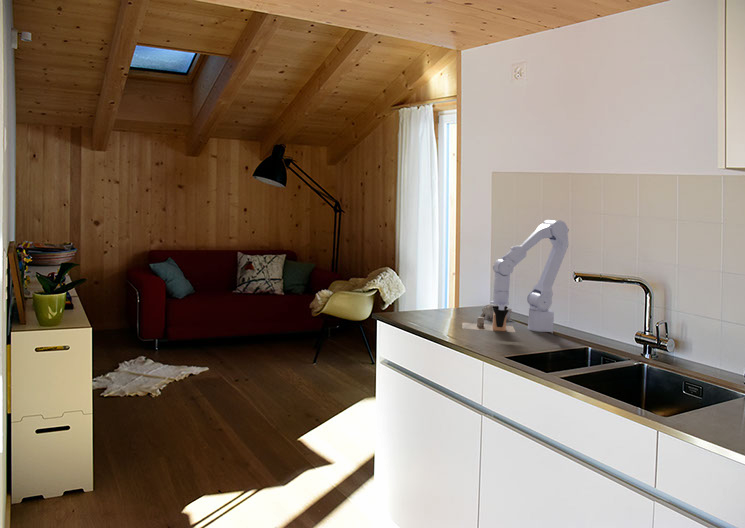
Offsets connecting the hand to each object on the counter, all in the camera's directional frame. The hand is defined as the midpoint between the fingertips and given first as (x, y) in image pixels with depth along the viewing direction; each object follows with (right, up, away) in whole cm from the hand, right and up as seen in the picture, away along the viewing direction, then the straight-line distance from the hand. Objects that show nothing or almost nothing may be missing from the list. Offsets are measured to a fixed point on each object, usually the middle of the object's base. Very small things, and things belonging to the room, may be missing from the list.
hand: (499, 325), depth 248 cm
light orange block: (0, -1, 0) cm, 1 cm away
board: (-4, -2, +3) cm, 5 cm away
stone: (+3, 0, +23) cm, 23 cm away
